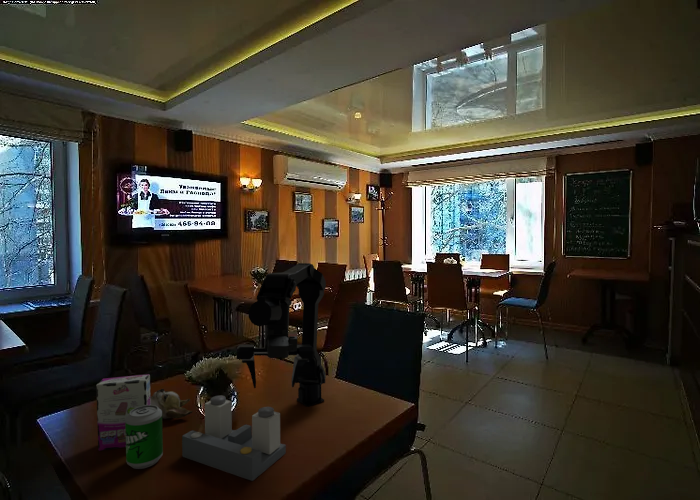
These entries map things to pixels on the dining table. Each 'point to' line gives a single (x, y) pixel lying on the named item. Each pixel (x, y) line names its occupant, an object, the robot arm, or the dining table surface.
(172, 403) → the ceramic sculpture
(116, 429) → the candy bar box
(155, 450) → the soda can
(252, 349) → the robot arm
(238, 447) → the switch panel
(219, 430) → the button
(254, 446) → the button
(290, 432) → the dining table surface
